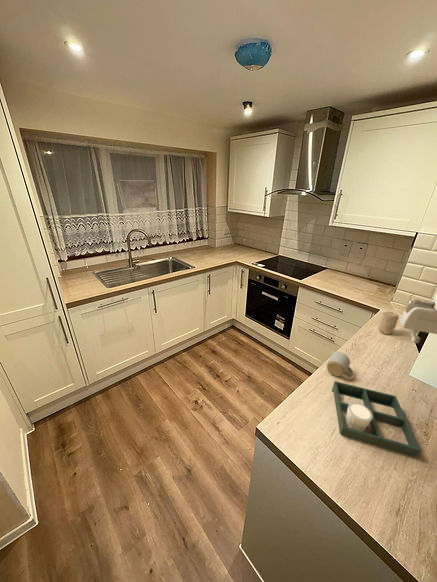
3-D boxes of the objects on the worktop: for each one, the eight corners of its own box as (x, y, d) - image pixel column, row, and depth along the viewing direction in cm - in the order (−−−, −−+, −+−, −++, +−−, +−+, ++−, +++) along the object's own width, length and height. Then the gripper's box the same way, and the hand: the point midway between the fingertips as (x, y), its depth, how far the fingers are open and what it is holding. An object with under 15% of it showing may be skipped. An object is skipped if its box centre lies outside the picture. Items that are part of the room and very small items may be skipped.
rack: (391, 404, 86) (395, 395, 84) (414, 460, 68) (420, 450, 66) (331, 389, 92) (334, 380, 90) (338, 437, 74) (342, 427, 72)
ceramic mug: (323, 371, 101) (328, 357, 97) (329, 362, 106) (333, 348, 103) (350, 384, 95) (356, 370, 91) (355, 373, 100) (360, 359, 97)
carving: (395, 335, 128) (403, 316, 124) (381, 335, 128) (389, 316, 123) (387, 329, 134) (394, 310, 129) (374, 328, 134) (381, 310, 129)
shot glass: (348, 413, 81) (353, 398, 79) (369, 427, 77) (376, 412, 74) (339, 424, 77) (344, 409, 74) (361, 440, 73) (367, 425, 70)
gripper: (414, 303, 66) (397, 343, 72) (506, 317, 61) (480, 359, 66) (405, 294, 72) (390, 332, 77) (489, 306, 66) (466, 346, 72)
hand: (432, 345), depth 72 cm, fingers open, 8 cm apart
